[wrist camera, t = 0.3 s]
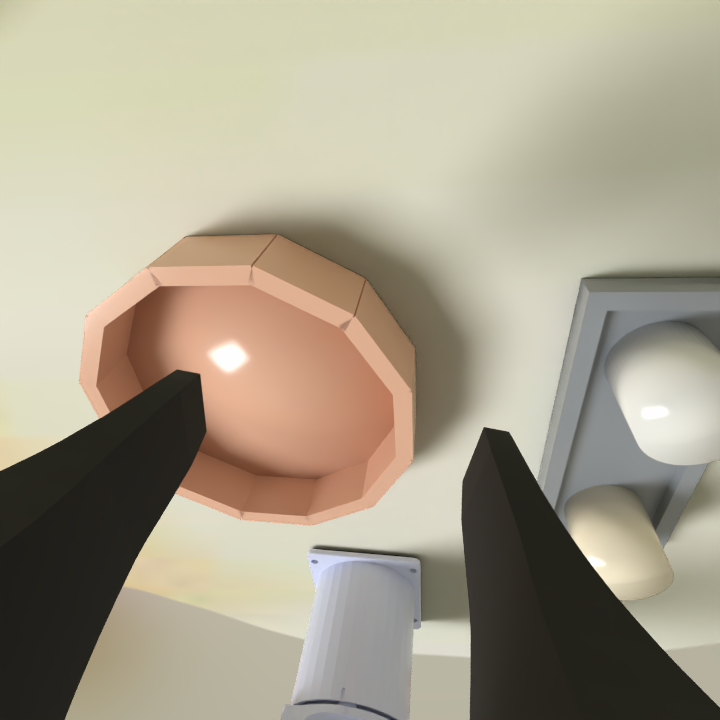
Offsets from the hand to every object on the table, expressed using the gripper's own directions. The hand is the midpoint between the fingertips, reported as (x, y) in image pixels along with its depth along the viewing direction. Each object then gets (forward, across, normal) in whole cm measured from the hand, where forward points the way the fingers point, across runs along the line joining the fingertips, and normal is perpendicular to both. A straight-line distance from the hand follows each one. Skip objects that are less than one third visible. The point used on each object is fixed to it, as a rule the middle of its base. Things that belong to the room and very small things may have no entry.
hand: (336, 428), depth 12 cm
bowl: (+10, +5, +7) cm, 13 cm away
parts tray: (+10, -13, +6) cm, 18 cm away
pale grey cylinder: (+9, -12, +2) cm, 15 cm away
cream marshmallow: (+9, -14, +11) cm, 20 cm away
